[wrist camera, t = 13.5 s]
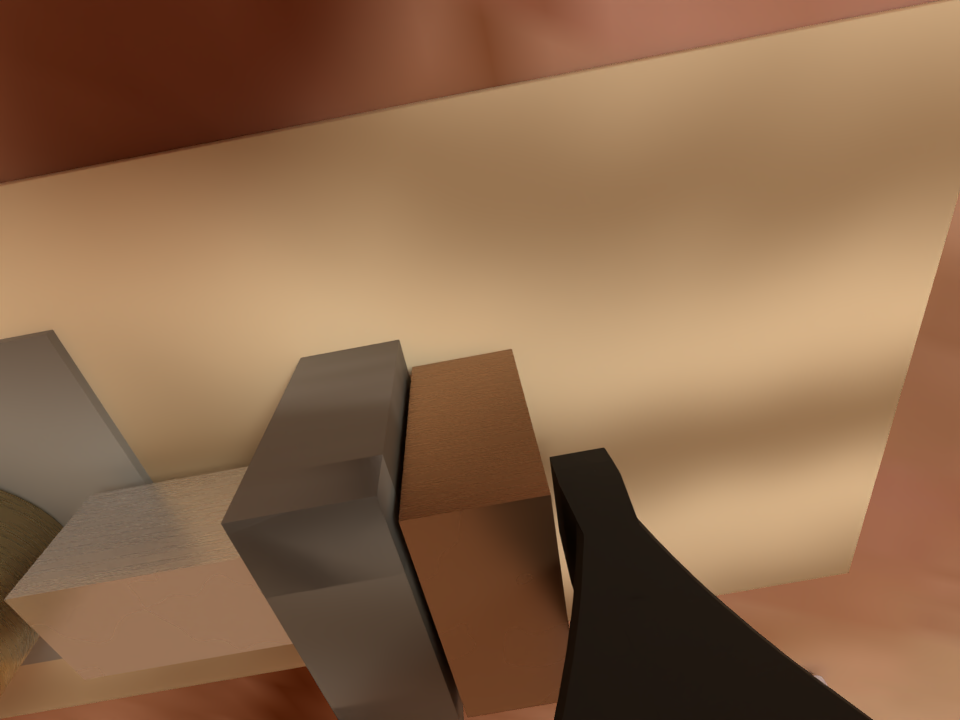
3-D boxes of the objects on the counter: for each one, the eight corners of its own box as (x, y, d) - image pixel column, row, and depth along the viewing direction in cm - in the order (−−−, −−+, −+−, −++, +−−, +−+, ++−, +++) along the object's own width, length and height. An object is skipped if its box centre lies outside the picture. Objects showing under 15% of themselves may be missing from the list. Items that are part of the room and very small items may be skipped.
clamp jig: (825, 545, 16) (986, 741, 11) (-51, 697, 16) (-245, 943, 12) (961, -4, 9) (1538, -89, 4) (-570, 294, 9) (-1542, 508, 5)
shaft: (539, 525, 13) (578, 698, 9) (182, 587, 13) (87, 781, 9) (512, 348, 10) (550, 494, 7) (70, 429, 10) (-120, 613, 7)
